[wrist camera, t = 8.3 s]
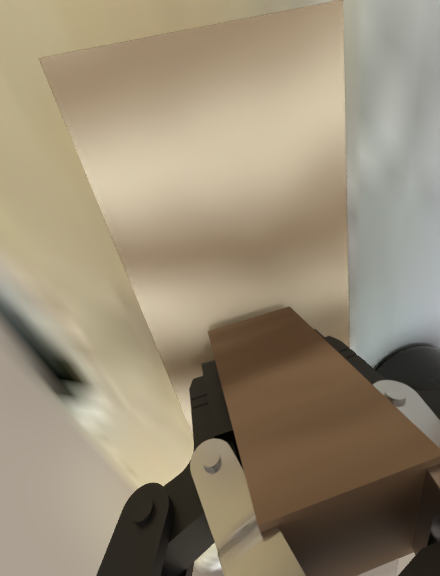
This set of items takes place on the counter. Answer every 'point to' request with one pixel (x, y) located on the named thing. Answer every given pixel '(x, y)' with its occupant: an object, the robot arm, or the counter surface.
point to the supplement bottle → (414, 368)
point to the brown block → (321, 447)
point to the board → (219, 173)
